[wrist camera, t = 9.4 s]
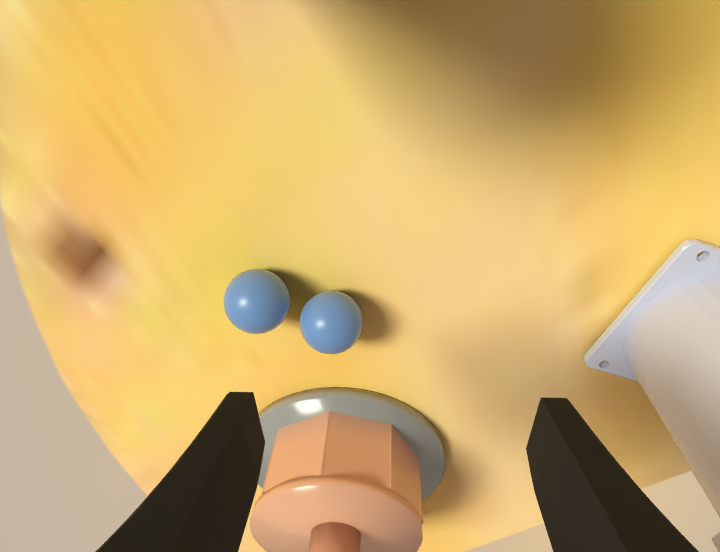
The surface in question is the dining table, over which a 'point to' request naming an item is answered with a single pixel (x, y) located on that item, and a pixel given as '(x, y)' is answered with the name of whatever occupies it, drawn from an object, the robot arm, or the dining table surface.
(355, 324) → the blue marble
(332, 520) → the lid with knob
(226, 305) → the blue marble
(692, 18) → the dining table surface
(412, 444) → the slate plate
